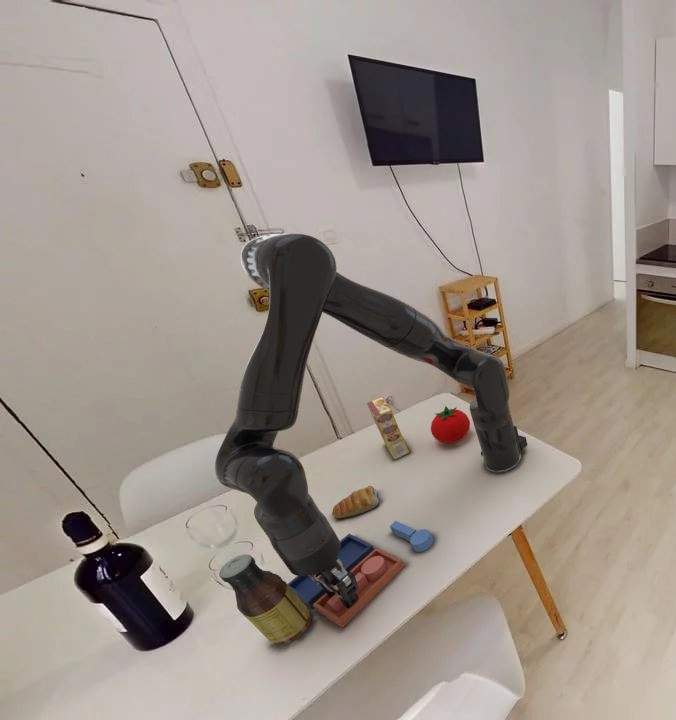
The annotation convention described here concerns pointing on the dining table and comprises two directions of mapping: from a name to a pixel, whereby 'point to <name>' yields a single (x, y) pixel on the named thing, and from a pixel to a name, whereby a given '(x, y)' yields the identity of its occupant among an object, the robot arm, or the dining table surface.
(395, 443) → the candy box
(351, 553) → the blue tray
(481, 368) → the robot arm
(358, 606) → the rose tray
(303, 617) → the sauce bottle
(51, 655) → the dining table surface
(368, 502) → the pastry
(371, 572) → the rose spoon
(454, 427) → the tomato
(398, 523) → the blue spoon
